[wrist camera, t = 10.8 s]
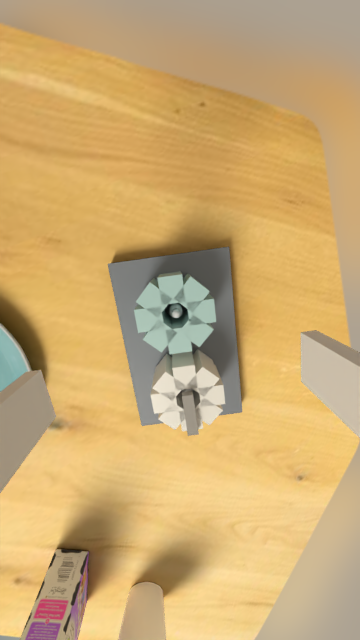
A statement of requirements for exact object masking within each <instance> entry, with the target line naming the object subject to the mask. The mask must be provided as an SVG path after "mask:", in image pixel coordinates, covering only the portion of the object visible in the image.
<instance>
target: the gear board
mask: <svg viewBox="0 0 360 640" xmlns="http://www.w3.org/2000/svg"><path fill="white" fill-rule="evenodd" d="M108 268H109V273H110V277H111V282H112V287H113V292H114V296H115V301H116V306H117V311H118V315H119V320H120V325H121V330H122V334H123V339H124V344H125V349H126V353H127V358H128V363H129V368H130V372H131V377H132V382H133V387H134V392H135V396H136V401H137V406H138V411H139V415H140V420H141V425H142V426H145V425H153V424H160V423H163V422H162V421H160V420H158V415H159V413H156V414H154V411H153V405H152V400H151V389H152V383H153V377H154V373H155V368H156V366H157V365H158V364H159V362H160V361H161V360H162V359H163V357H164V356H165V355H166V354H168V355H170V356H171V357H172V354H169V348H168V345H167V346H166V348H165V349H164V350H163V352H160V351H159V350H157V349H156V348H154V347H153V346H151V345H150V344H148V343H147V342H145V341H144V340H143V337H144V335H145V332H141V333H138V329H137V324H136V319H135V313H134V309H135V308H136V306H137V305H138V303H137V302H136V301H137V299H138V298H139V296H140V295H141V294H142V292H143V291H144V290H145V288H146V287H147V285H148V284H149V283H150V281H151V280H152V279H153V278H155V279H156V280H157V281H158V279H157V277H158V276H159V275H160V274H165V273H172V272H179V271H181V273H182V277H183V278H184V277H185V276H186V274H187V273H188V274H189V275H191V276H192V277H193V278H194V279H196V280H197V281H198V282H200V283H201V284H202V285H203V286H205V287H206V288H207V289H208V290H209V291H210V292H209V294H210V295H211V296H212V297H213V298H214V304H215V314H216V322H212V323H210V324H211V325H212V327H213V329H214V330H213V331H212V333H211V334H210V335H209V336H208V337H207V339H206V340H205V341H204V342H203V344H202V345H201V346H200V347H198V346H197V345H195V344H194V343H193V342H191V345H192V354H194V353H195V352H196V350H197V349H198V350H200V351H201V352H202V353H204V354H205V355H207V356H208V357H209V358H211V359H212V360H213V363H214V365H216V368H217V370H218V373H219V375H220V378H221V380H222V383H223V386H224V396H225V404H221V406H222V409H223V411H222V412H221V413H220V414H219V415H226V414H233V413H240V412H242V402H241V390H240V377H239V365H238V352H237V339H236V327H235V314H234V302H233V289H232V277H231V264H230V252H229V247H223V248H216V249H209V250H202V251H195V252H188V253H181V254H174V255H167V256H160V257H153V258H146V259H139V260H132V261H125V262H118V263H110V264H108ZM185 310H186V307H184V306H183V305H182V304H180V303H173V304H168V305H167V307H166V308H165V312H166V313H167V314H169V315H170V316H171V317H173V318H179V317H180V316H181V315H182V314H183V313H184V311H185ZM181 391H182V392H187V391H193V389H192V388H191V389H183V390H181Z"/></svg>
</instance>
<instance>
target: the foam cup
mask: <svg viewBox="0 0 360 640" xmlns="http://www.w3.org/2000/svg"><path fill="white" fill-rule="evenodd" d="M118 640H166V630H165V614H164V598H163V590H162V589H161V587H160V586H159V585H157V584H155V583H151V582H142V583H138V584H136V585H134V586H133V587H132V588H131V589H130V591H129V595H128V598H127V603H126V607H125V611H124V616H123V620H122V625H121V629H120V633H119V638H118Z"/></svg>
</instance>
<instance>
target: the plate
mask: <svg viewBox="0 0 360 640" xmlns="http://www.w3.org/2000/svg"><path fill="white" fill-rule="evenodd" d="M28 371H32V369H31V366H30V363H29V361H28V359H27V357H26V355H25V353H24V351H23V349H22V348H21V346H20V344H19V343H18V342H17V340H16V339H15V338H14V336H13V335H12V334H11V333H10V332H9V331H8V330H7V329H6V328H5V327H4V326H3V325H2V324H1V323H0V392H1V391H2V390H3V389H5V388H6V387H7V386H9V385H10V384H11V383H12V382H14V381H15V380H16V379H17V378H19V377H20V376H21V375H23V374H24V373H25V372H28Z"/></svg>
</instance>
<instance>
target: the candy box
mask: <svg viewBox="0 0 360 640" xmlns="http://www.w3.org/2000/svg"><path fill="white" fill-rule="evenodd" d="M88 556H89V551H78V550H64V549H56V550H55V553H54V556H53V558H52V561H51V563H50V566H49V568H48V571H47V573H46V576H45V578H44V581H43V583H42V586H41V588H40V591H39V593H38V596H37V598H36V601H35V603H34V606H33V608H32V611H31V614H30V616H29V618H28V621H27V623H26V626H25V628H24V631H23V633H22V635H21V638H20V640H78V636H79V632H80V628H81V623H82V619H83V615H84V611H85V607H86V603H87V589H88Z"/></svg>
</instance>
